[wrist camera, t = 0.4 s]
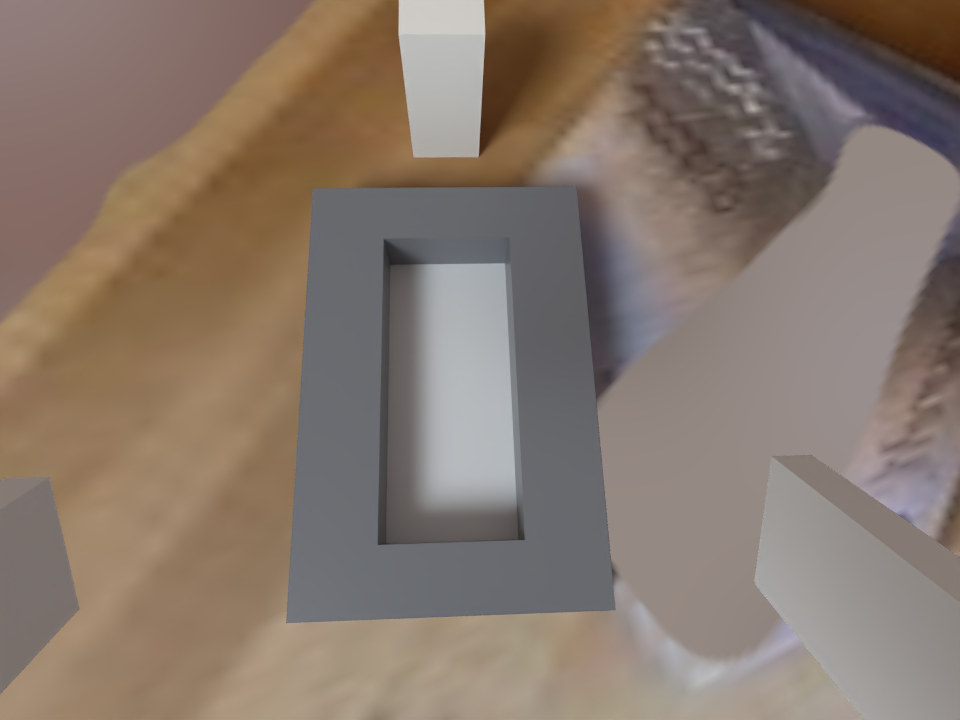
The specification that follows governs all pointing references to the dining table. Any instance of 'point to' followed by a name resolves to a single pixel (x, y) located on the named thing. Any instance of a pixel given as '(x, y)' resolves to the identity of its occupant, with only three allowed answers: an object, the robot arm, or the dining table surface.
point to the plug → (443, 74)
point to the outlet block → (447, 409)
